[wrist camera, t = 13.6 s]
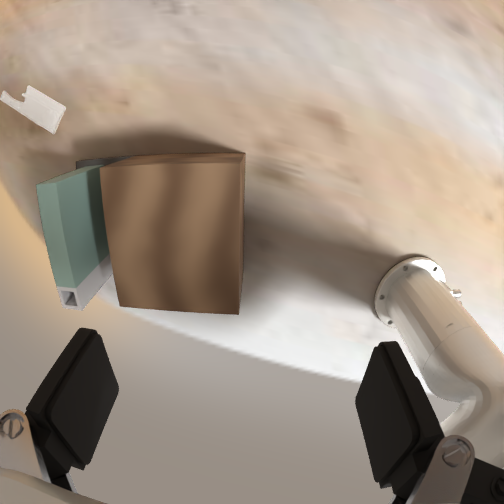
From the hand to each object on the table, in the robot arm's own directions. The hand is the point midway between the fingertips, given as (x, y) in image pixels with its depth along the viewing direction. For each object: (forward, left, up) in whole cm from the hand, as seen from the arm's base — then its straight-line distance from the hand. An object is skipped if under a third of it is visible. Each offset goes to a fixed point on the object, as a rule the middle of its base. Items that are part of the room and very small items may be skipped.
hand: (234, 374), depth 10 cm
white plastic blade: (+33, -14, -31) cm, 48 cm away
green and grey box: (+21, +4, -29) cm, 36 cm away
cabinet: (+13, +4, -30) cm, 33 cm away
